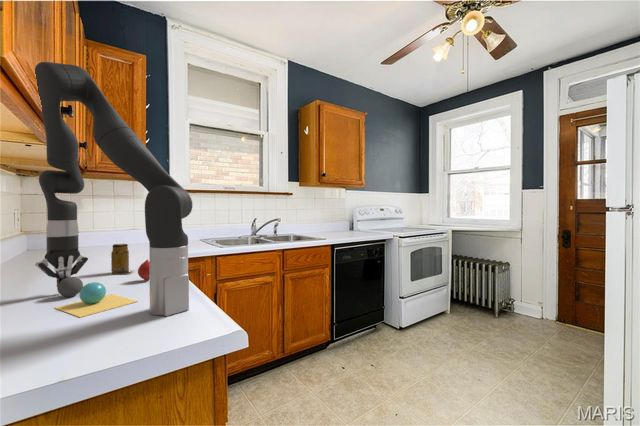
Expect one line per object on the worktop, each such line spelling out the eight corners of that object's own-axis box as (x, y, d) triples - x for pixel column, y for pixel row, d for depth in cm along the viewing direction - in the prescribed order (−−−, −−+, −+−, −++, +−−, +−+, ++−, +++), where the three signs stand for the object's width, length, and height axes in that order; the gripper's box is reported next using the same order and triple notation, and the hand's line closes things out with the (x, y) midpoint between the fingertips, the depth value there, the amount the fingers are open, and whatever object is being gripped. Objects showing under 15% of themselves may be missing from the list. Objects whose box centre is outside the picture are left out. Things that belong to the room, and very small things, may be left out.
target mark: (137, 301, 84) (137, 301, 84) (80, 317, 72) (80, 316, 72) (111, 294, 91) (111, 294, 91) (54, 308, 79) (54, 307, 79)
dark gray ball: (73, 283, 93) (79, 298, 92) (50, 286, 88) (56, 302, 86) (83, 271, 92) (90, 287, 90) (60, 274, 86) (67, 290, 85)
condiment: (115, 271, 124) (115, 243, 124) (137, 270, 126) (137, 243, 126) (106, 275, 117) (106, 245, 117) (129, 274, 119) (129, 245, 118)
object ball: (95, 287, 87) (101, 305, 85) (71, 291, 81) (78, 310, 80) (106, 277, 86) (113, 295, 84) (84, 279, 80) (90, 298, 78)
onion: (134, 281, 107) (133, 260, 107) (147, 278, 112) (147, 257, 112) (146, 283, 105) (146, 261, 105) (159, 279, 111) (159, 258, 110)
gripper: (82, 232, 99) (82, 283, 99) (29, 235, 87) (30, 293, 87) (93, 233, 95) (93, 286, 95) (40, 237, 84) (40, 296, 84)
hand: (63, 289), depth 91 cm, fingers closed
